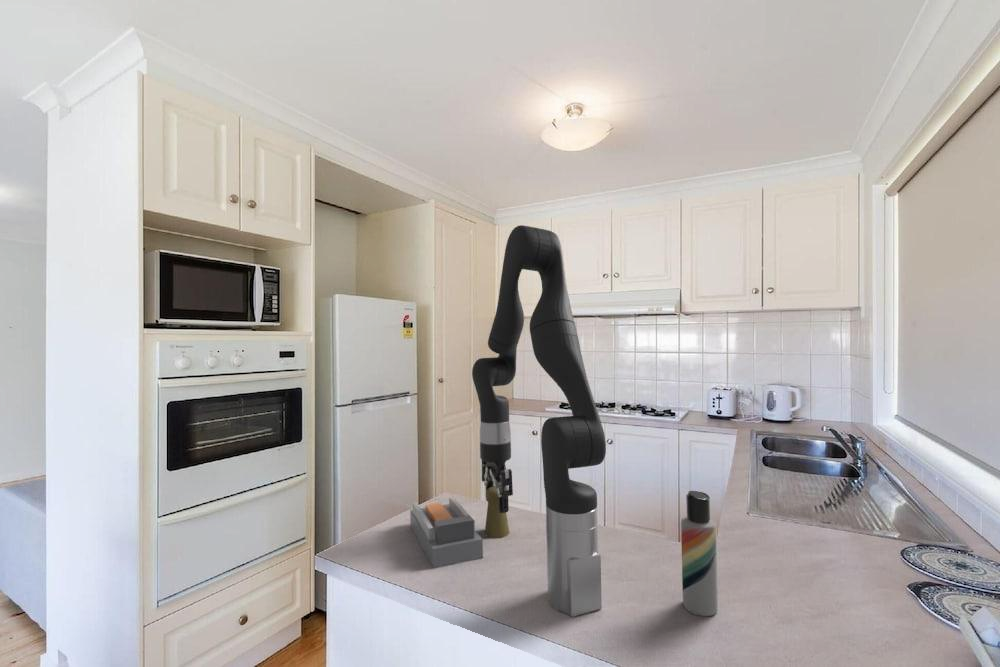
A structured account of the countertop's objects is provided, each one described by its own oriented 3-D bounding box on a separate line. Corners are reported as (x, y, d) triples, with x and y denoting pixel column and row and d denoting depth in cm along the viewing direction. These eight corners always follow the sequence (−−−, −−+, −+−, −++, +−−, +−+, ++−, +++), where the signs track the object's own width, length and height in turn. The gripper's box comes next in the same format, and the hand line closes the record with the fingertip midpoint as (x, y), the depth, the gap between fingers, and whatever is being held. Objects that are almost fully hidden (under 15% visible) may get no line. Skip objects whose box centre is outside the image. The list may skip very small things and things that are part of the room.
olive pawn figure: (508, 538, 112) (507, 492, 112) (483, 537, 112) (482, 491, 112) (510, 527, 118) (509, 484, 118) (486, 527, 118) (485, 483, 118)
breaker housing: (482, 557, 102) (482, 521, 102) (433, 568, 98) (432, 529, 98) (452, 518, 124) (451, 488, 124) (410, 525, 120) (410, 494, 120)
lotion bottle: (688, 594, 86) (686, 485, 86) (722, 605, 83) (719, 491, 83) (678, 609, 82) (675, 494, 82) (712, 621, 78) (710, 501, 78)
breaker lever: (460, 532, 105) (460, 527, 105) (443, 535, 104) (442, 530, 104) (440, 507, 121) (440, 502, 121) (425, 509, 120) (425, 505, 120)
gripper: (521, 443, 109) (523, 513, 109) (498, 432, 122) (500, 495, 122) (491, 447, 106) (493, 519, 106) (471, 435, 119) (472, 499, 119)
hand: (496, 506), depth 114 cm, fingers open, 8 cm apart
